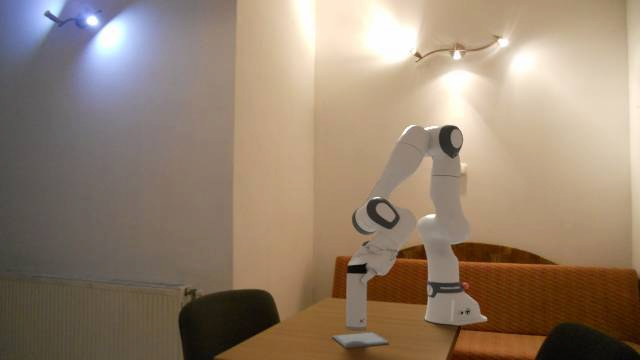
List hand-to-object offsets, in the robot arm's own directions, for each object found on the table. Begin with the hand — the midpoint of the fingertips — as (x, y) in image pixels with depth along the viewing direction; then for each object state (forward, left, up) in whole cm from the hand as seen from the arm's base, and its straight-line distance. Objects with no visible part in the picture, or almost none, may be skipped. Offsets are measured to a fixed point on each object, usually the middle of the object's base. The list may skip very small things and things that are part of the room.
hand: (355, 281), depth 142 cm
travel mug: (0, +1, -14) cm, 14 cm away
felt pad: (-2, -1, -18) cm, 18 cm away
